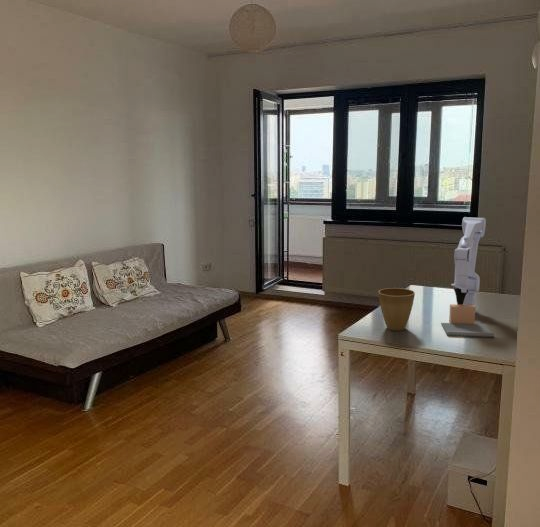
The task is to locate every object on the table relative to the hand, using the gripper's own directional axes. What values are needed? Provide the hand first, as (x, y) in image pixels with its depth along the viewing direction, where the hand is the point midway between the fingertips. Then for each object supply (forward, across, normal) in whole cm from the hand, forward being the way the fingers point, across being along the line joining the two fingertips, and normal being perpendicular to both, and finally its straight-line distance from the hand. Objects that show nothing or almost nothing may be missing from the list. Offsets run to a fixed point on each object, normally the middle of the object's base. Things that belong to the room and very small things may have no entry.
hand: (459, 304), depth 240 cm
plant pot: (+7, +16, -29) cm, 34 cm away
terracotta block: (+7, +6, 0) cm, 9 cm away
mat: (+7, +16, 0) cm, 17 cm away
